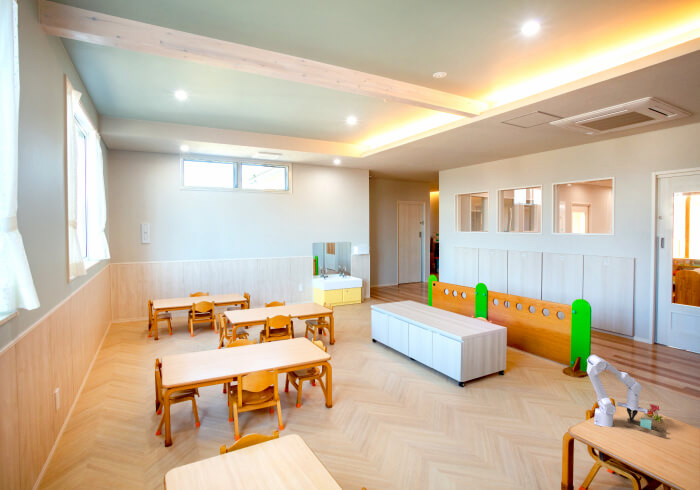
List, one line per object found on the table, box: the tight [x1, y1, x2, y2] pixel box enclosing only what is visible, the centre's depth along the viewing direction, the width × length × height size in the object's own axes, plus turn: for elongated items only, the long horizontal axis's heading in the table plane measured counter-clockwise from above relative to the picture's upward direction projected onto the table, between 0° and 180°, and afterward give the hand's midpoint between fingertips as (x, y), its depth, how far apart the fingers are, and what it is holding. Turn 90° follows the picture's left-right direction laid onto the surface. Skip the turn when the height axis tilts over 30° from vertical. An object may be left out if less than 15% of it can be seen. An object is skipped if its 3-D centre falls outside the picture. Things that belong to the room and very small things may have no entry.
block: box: [639, 417, 653, 429], centre depth 219 cm, size 5×5×6 cm
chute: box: [625, 417, 667, 440], centre depth 219 cm, size 19×7×4 cm, turn 48°
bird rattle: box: [643, 403, 664, 423], centre depth 231 cm, size 6×11×9 cm
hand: (631, 420), depth 224 cm, fingers closed
